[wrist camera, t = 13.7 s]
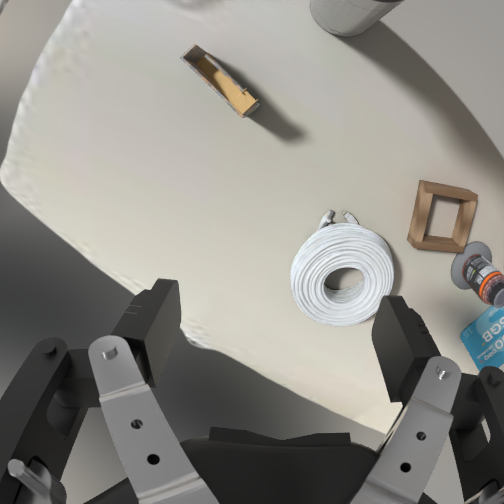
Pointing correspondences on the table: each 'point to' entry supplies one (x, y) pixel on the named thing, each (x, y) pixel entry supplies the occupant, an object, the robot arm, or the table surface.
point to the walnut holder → (422, 212)
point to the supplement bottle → (484, 280)
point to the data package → (486, 338)
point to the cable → (340, 256)
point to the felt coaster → (462, 257)
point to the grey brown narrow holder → (220, 81)
